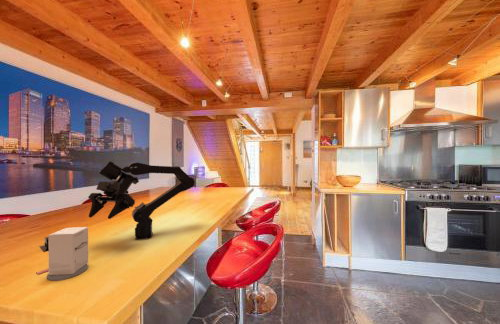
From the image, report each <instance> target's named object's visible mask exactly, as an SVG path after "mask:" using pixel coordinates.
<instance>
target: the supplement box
mask: <svg viewBox="0 0 500 324" xmlns="http://www.w3.org/2000/svg"><path fill="white" fill-rule="evenodd" d="M47 237H48V244H49V251H48V268H49V271H48V273H49V275H64V274H74V273H75V272H76V271H77V270H79V269H80V268H82V267H83V266H84V265H86V264H89V227H88V226H77V227H76V226H75V227H65V228H63V229H60V230H58V231H55V232H52V233H50V234H48V236H47Z"/></svg>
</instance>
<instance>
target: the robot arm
mask: <svg viewBox="0 0 500 324" xmlns="http://www.w3.org/2000/svg"><path fill="white" fill-rule="evenodd" d="M127 173H128V174H127ZM98 174H99V175H100V176H102V177H104V178H105V179H107V180H109V181H98V184H97V187H96V190H97V191H101V192H103V194H104V195H103V194H102V193H101V192H91V193H90V194H89V196H88V199H89V200H90V201H91V206H90V210H89V213H88V217H89V218H90V219H91V218H93V217H94V216H96V214H97V213H98V212H100V211H101V210H102V209H103V208H104V207H105V205H106V204H107V203H109V202H110V203H111V202H112V203H114V206H113V208H112V209H111V210H110V212H109V214H108V215H107V219H108V220H111V219H113V218H114V217H116V216H117V215H119V214H120V213H122V212H124V211H125V210H128V209H130V208H133V207H134V205H135V203H136V200H135V199H134V198H133V196H131V195H130V194H129V189H130V188H131V186H132V184H134V185H137V184H138V183H139V182H140V180H139V179H138V177H136V176H139V175H146V174H168V175H169V174H171V175H172V174H173V175H174V176H175V178H176V179H177V180H178V181H177V182H176V184H175V185H173V186H172V187H171V188H169V189H168V190H166V191H164V192H163V193H162V194H161V195H158V196H157V197H156V198H155V199H152V200H151V201H150V202H148V203H144V202H141V203H140V204H139V205H137V206H135V207H134V208H133V210H132V212H131V217H132V218H133V221H134V222H135V223H136V225H135V226H136V227H134V237H135V238H134V239H135V240H144V239H151V238H152V236H153V234H154V232H153V219H152V218H151V215H152V214H153V213H154V211H156V210H157V209H158V208H160V207H161V206H163V205H164V204H165V203H167V202H168V201H170V200H171V199H172V198H174V197H176V196H177V195H179V194H180V193H182V192H185V191H187V190H189V189H192V188H193V187H195V183H196V182H195V179H194V178H193V177H191V176H189V175H188V174H187V173H186V172H185V171H184V170H183V169H182V168H181V167H180V166H177V165H175V166H169V165H168V166H167V165H151V164H147V163H143V162H135V161H134V162H131V163H130V164H128V166H125V167H124V166H123V167H120V166H118V165H116V164H115V163H114V162H113V161H110V160H109V161H108V163H106V165H105V166H103V167H102V168H101V169H100V170H99V172H98ZM133 175H134V176H133Z"/></svg>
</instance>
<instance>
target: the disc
mask: <svg viewBox="0 0 500 324" xmlns="http://www.w3.org/2000/svg"><path fill="white" fill-rule="evenodd" d="M88 264H89V263H87V264H86V265H84V266H83V267H82V268H80V269H79V270H77V271H76V272H75V273H74V274H64V275H49V272H48V273H47V275H46V279H47V280H48V281H52V282H57V281H63V280H69V279H72V278H74V277H78V276H79V275H81V274H83V273H84V272H86V271H87V270H88V269H89V265H88Z"/></svg>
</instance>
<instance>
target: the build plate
mask: <svg viewBox="0 0 500 324" xmlns="http://www.w3.org/2000/svg"><path fill="white" fill-rule="evenodd" d="M39 248H40V250H41V251H42V252H43V253H47V252H49V244H48V236H47V237H44V245H40V246H39Z"/></svg>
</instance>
